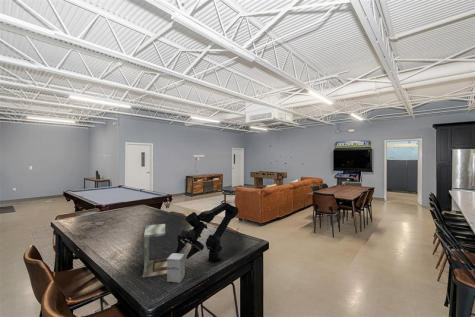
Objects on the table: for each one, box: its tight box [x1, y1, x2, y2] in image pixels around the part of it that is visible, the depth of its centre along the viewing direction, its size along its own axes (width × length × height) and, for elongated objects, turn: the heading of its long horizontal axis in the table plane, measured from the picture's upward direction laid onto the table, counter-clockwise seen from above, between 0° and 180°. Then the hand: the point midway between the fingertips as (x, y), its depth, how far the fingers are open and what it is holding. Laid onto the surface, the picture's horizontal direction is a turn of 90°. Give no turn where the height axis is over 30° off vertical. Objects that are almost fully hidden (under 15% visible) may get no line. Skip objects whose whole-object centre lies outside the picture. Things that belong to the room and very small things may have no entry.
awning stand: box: [142, 223, 168, 278], centre depth 136 cm, size 18×18×23 cm
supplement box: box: [166, 252, 186, 284], centre depth 123 cm, size 7×7×13 cm
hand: (181, 256), depth 126 cm, fingers open, 9 cm apart
